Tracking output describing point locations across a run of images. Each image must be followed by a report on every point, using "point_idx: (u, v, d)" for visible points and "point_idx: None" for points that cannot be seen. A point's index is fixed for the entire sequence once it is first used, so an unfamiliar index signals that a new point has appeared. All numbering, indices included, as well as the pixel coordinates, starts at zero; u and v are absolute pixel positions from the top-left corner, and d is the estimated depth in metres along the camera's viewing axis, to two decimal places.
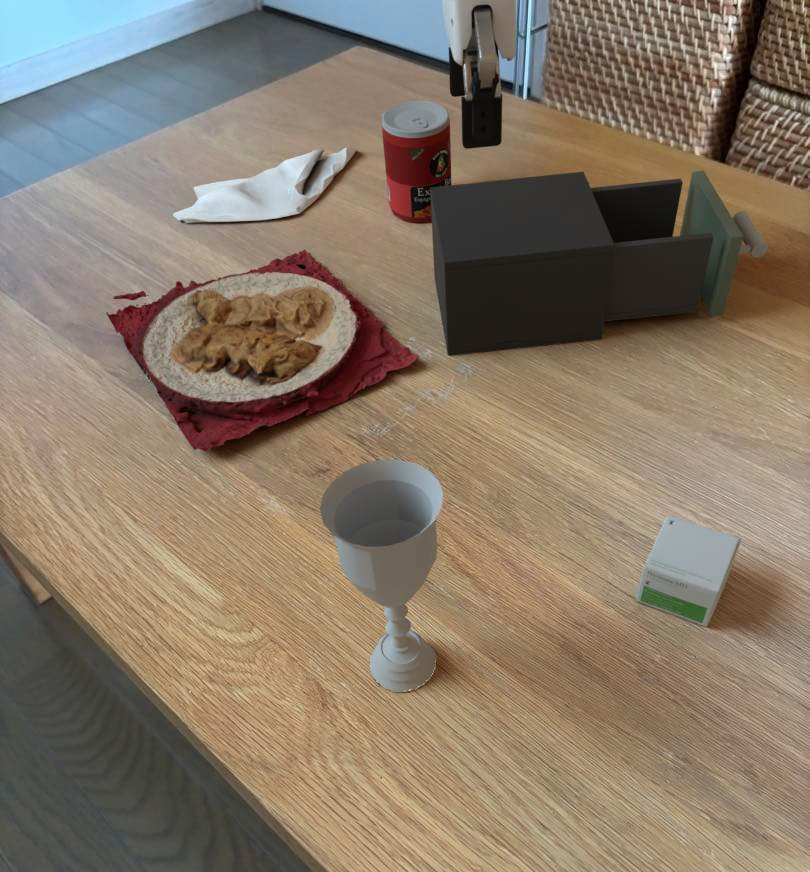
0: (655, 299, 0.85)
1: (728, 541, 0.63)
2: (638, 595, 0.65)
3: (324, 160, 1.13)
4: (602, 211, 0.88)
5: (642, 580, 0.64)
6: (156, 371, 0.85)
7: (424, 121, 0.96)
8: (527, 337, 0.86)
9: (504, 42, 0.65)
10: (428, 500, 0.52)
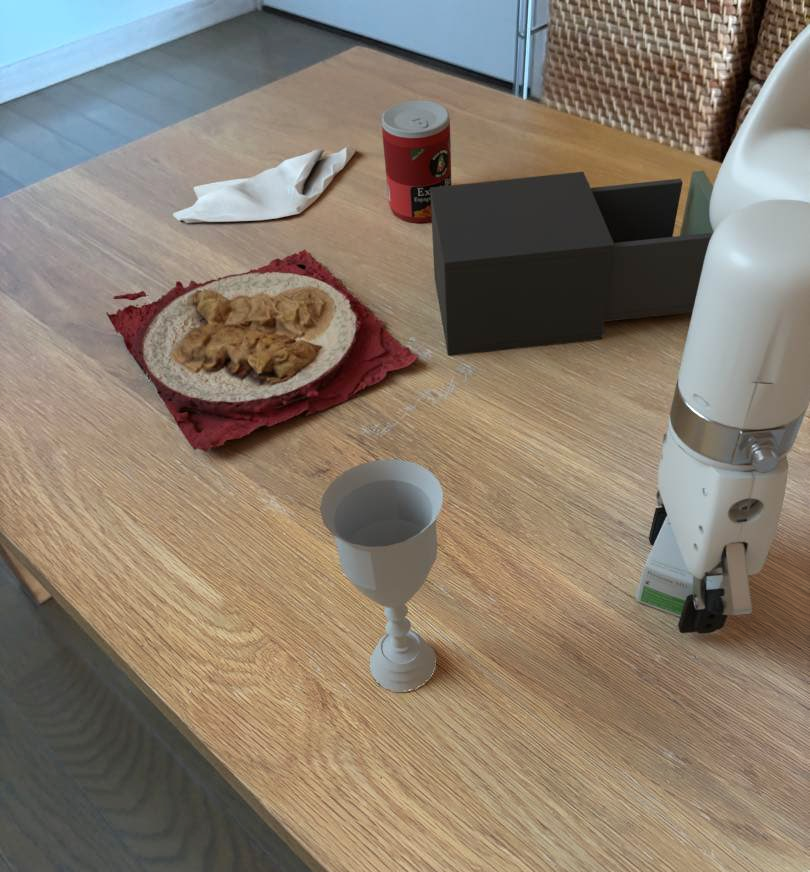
0: (655, 299, 0.85)
1: None
2: (638, 595, 0.65)
3: (324, 160, 1.13)
4: (602, 211, 0.88)
5: (642, 580, 0.64)
6: (156, 371, 0.85)
7: (424, 121, 0.96)
8: (527, 337, 0.86)
9: (754, 566, 0.56)
10: (428, 500, 0.52)
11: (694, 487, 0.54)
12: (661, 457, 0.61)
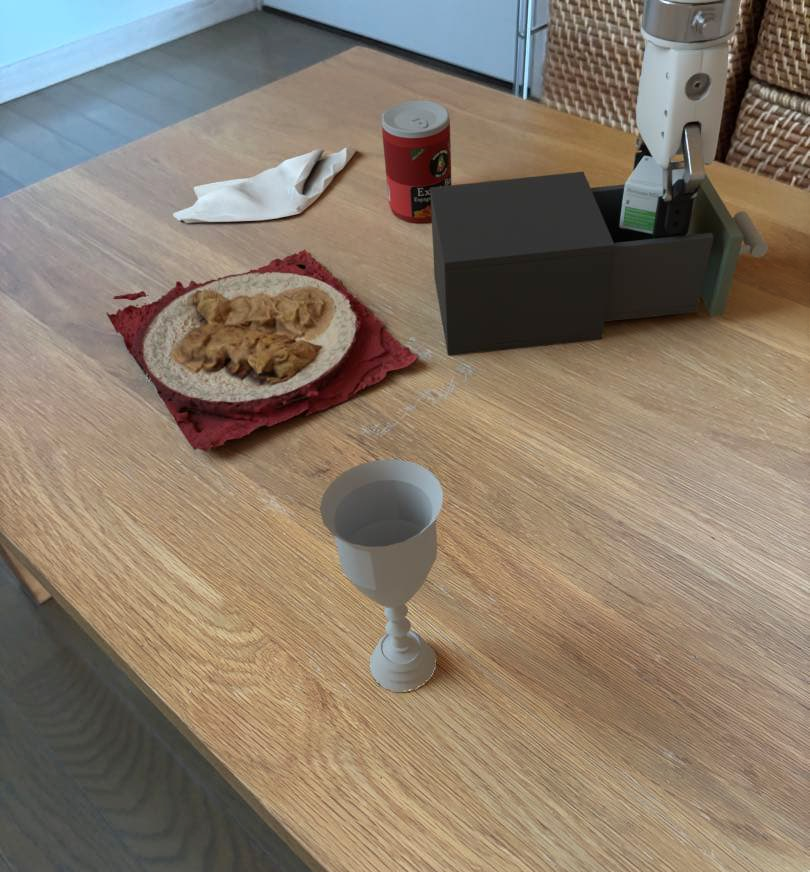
0: (655, 299, 0.85)
1: None
2: (621, 219, 0.83)
3: (324, 160, 1.13)
4: (602, 211, 0.88)
5: (623, 200, 0.82)
6: (156, 371, 0.85)
7: (424, 121, 0.96)
8: (527, 337, 0.86)
9: (707, 151, 0.74)
10: (428, 500, 0.52)
11: (660, 80, 0.72)
12: (638, 94, 0.79)
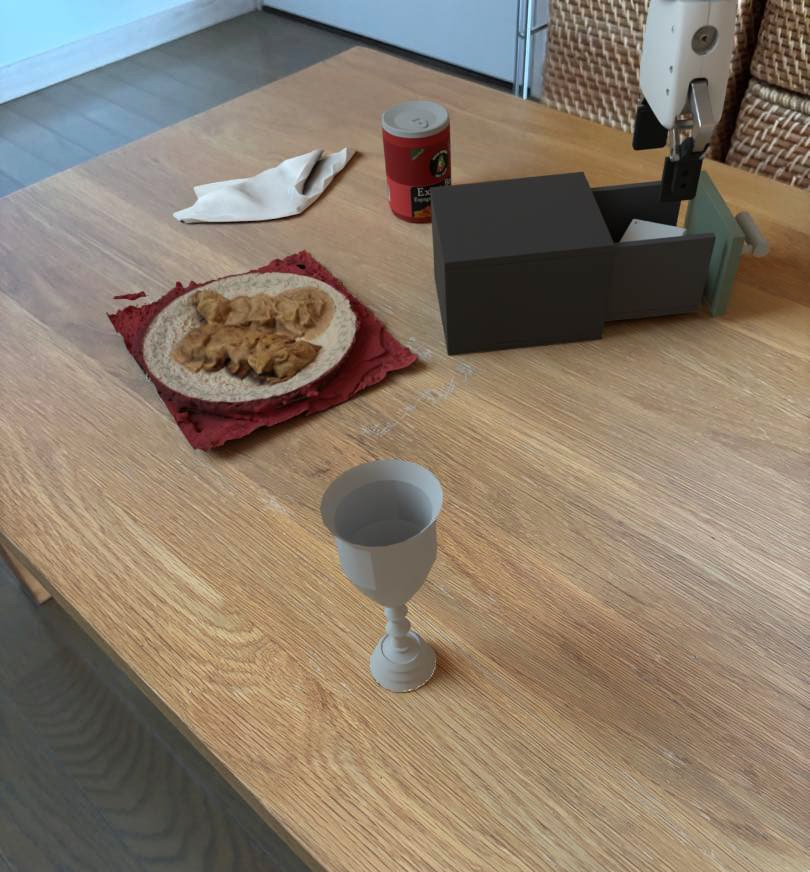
0: (657, 298, 0.85)
1: (677, 230, 0.86)
2: None
3: (324, 160, 1.13)
4: (604, 211, 0.88)
5: None
6: (156, 371, 0.85)
7: (424, 121, 0.96)
8: (527, 337, 0.86)
9: (713, 110, 0.71)
10: (428, 500, 0.52)
11: (665, 34, 0.69)
12: (642, 53, 0.77)
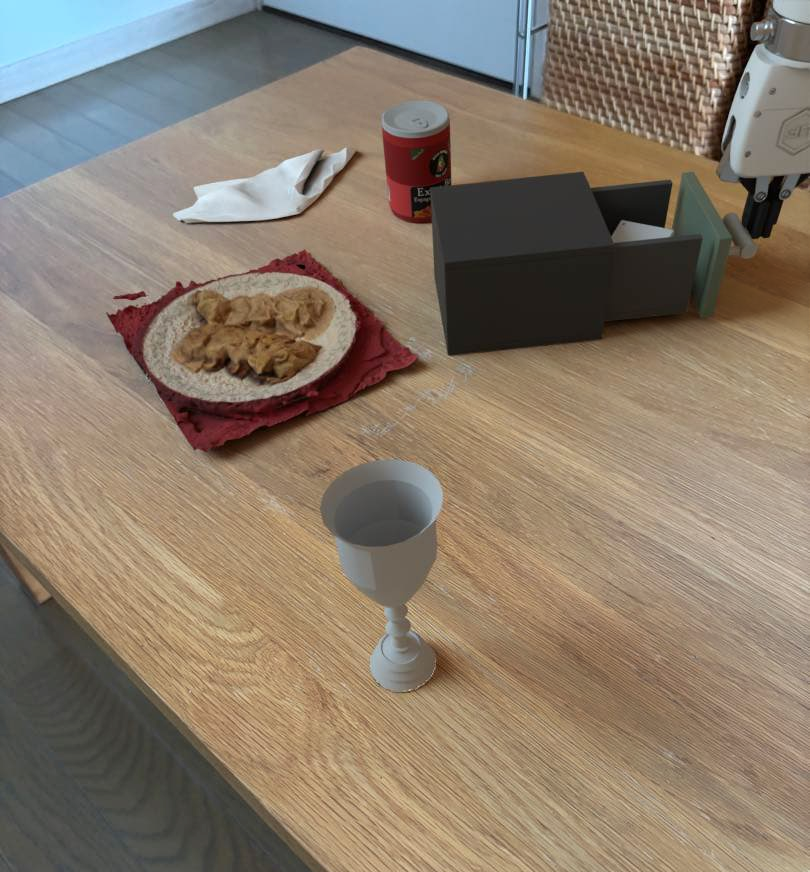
0: (644, 300, 0.85)
1: (665, 231, 0.86)
2: None
3: (324, 160, 1.13)
4: None
5: None
6: (156, 371, 0.85)
7: (424, 121, 0.96)
8: (527, 337, 0.86)
9: (732, 155, 0.78)
10: (428, 500, 0.52)
11: None
12: None
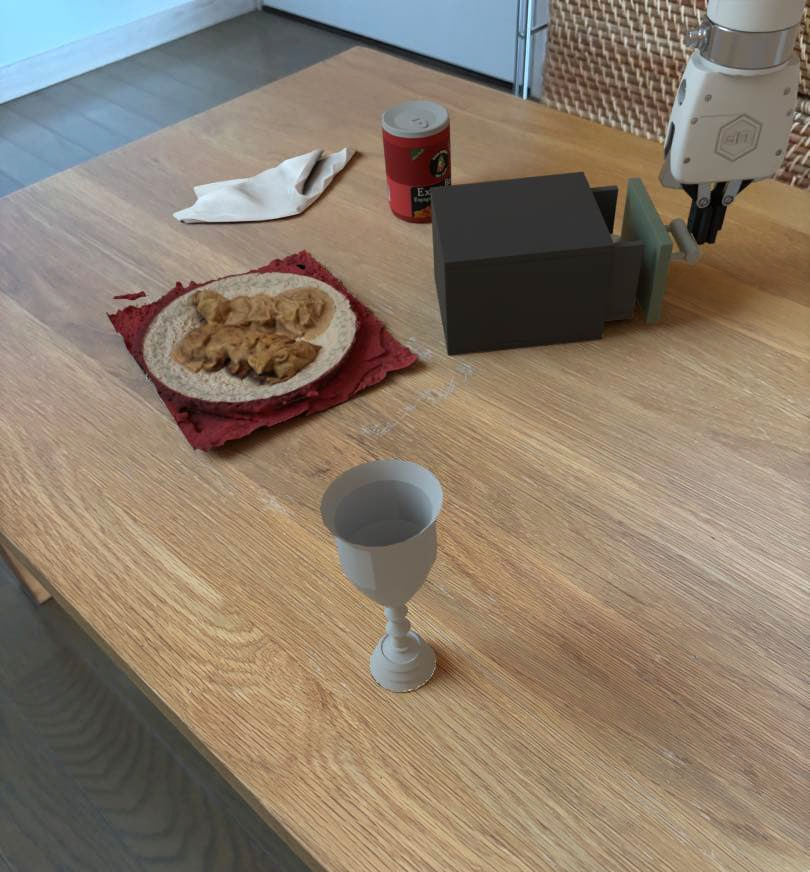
0: None
1: None
2: None
3: (324, 160, 1.13)
4: None
5: None
6: (156, 371, 0.85)
7: (424, 121, 0.96)
8: (527, 337, 0.86)
9: (672, 162, 0.78)
10: (428, 500, 0.52)
11: None
12: None
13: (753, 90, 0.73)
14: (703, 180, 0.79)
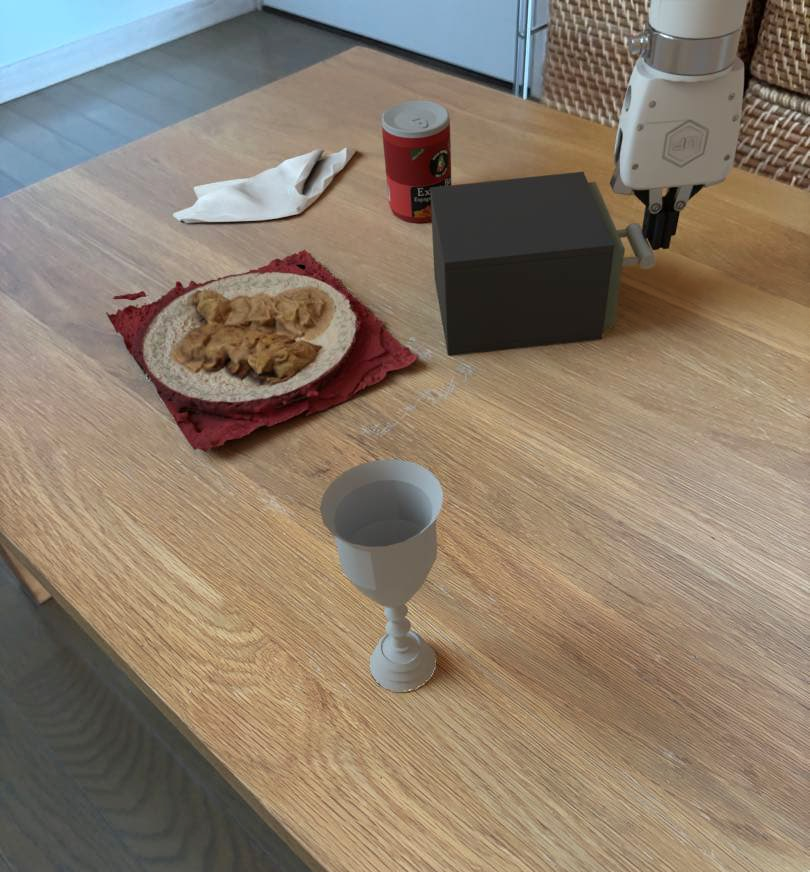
0: None
1: None
2: None
3: (324, 160, 1.13)
4: None
5: None
6: (156, 371, 0.85)
7: (424, 121, 0.96)
8: (527, 337, 0.86)
9: (621, 168, 0.78)
10: (428, 500, 0.52)
11: None
12: None
13: (697, 96, 0.73)
14: (653, 186, 0.79)
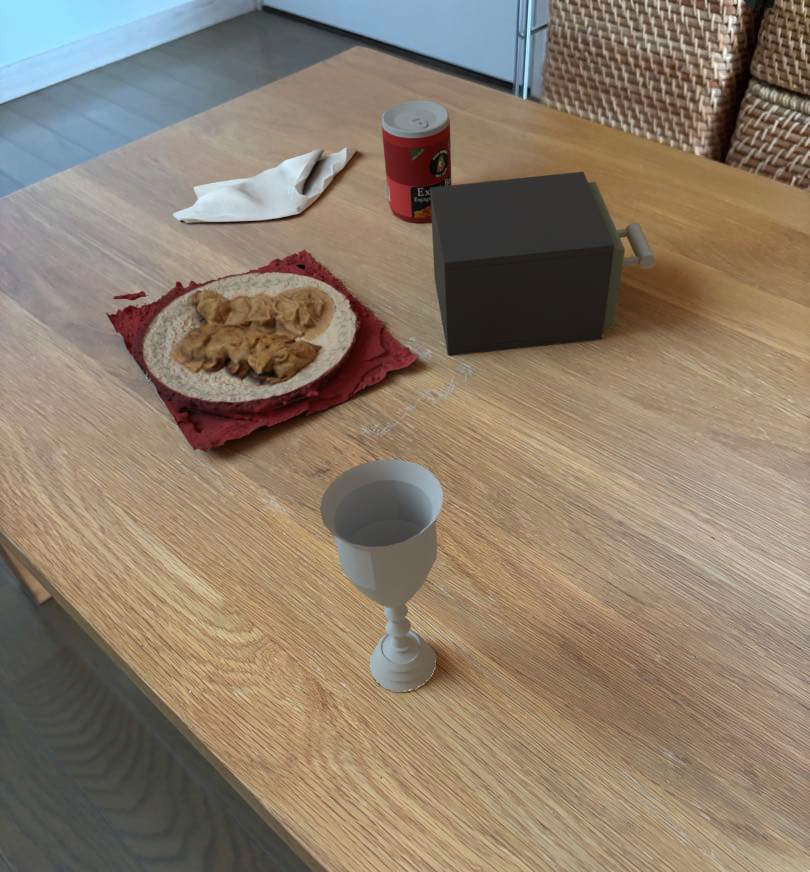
0: None
1: None
2: None
3: (324, 160, 1.13)
4: None
5: None
6: (156, 371, 0.85)
7: (424, 121, 0.96)
8: (527, 337, 0.86)
9: None
10: (428, 500, 0.52)
11: None
12: None
13: None
14: None
